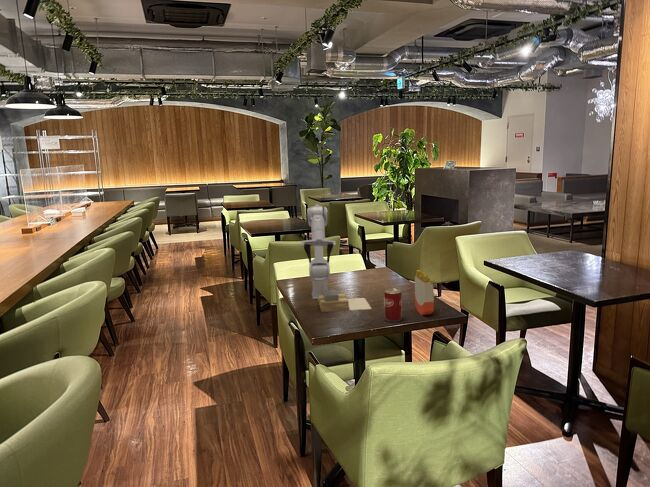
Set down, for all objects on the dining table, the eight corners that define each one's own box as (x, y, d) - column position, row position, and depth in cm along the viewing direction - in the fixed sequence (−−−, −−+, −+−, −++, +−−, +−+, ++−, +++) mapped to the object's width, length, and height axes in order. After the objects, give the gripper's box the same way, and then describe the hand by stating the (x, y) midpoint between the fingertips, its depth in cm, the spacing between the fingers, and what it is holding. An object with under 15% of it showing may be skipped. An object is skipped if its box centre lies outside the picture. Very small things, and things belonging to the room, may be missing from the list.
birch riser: (318, 302, 227) (318, 294, 226) (343, 300, 228) (343, 292, 227) (321, 312, 213) (321, 303, 212) (348, 310, 214) (348, 301, 213)
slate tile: (322, 295, 224) (322, 290, 223) (335, 294, 224) (335, 289, 224) (325, 301, 215) (325, 295, 214) (338, 300, 215) (338, 294, 215)
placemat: (344, 300, 229) (344, 299, 229) (364, 298, 230) (364, 297, 230) (350, 310, 213) (350, 310, 213) (371, 309, 214) (371, 308, 214)
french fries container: (424, 308, 213) (424, 268, 210) (434, 316, 203) (434, 274, 200) (414, 309, 213) (414, 269, 209) (424, 317, 202) (424, 275, 199)
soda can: (388, 323, 197) (388, 294, 195) (381, 317, 204) (381, 289, 201) (404, 320, 199) (404, 292, 197) (397, 315, 206) (397, 287, 203)
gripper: (301, 228, 206) (302, 258, 201) (335, 228, 208) (337, 258, 203) (300, 234, 213) (301, 264, 207) (333, 235, 214) (335, 264, 209)
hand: (319, 261), depth 205 cm, fingers open, 7 cm apart
